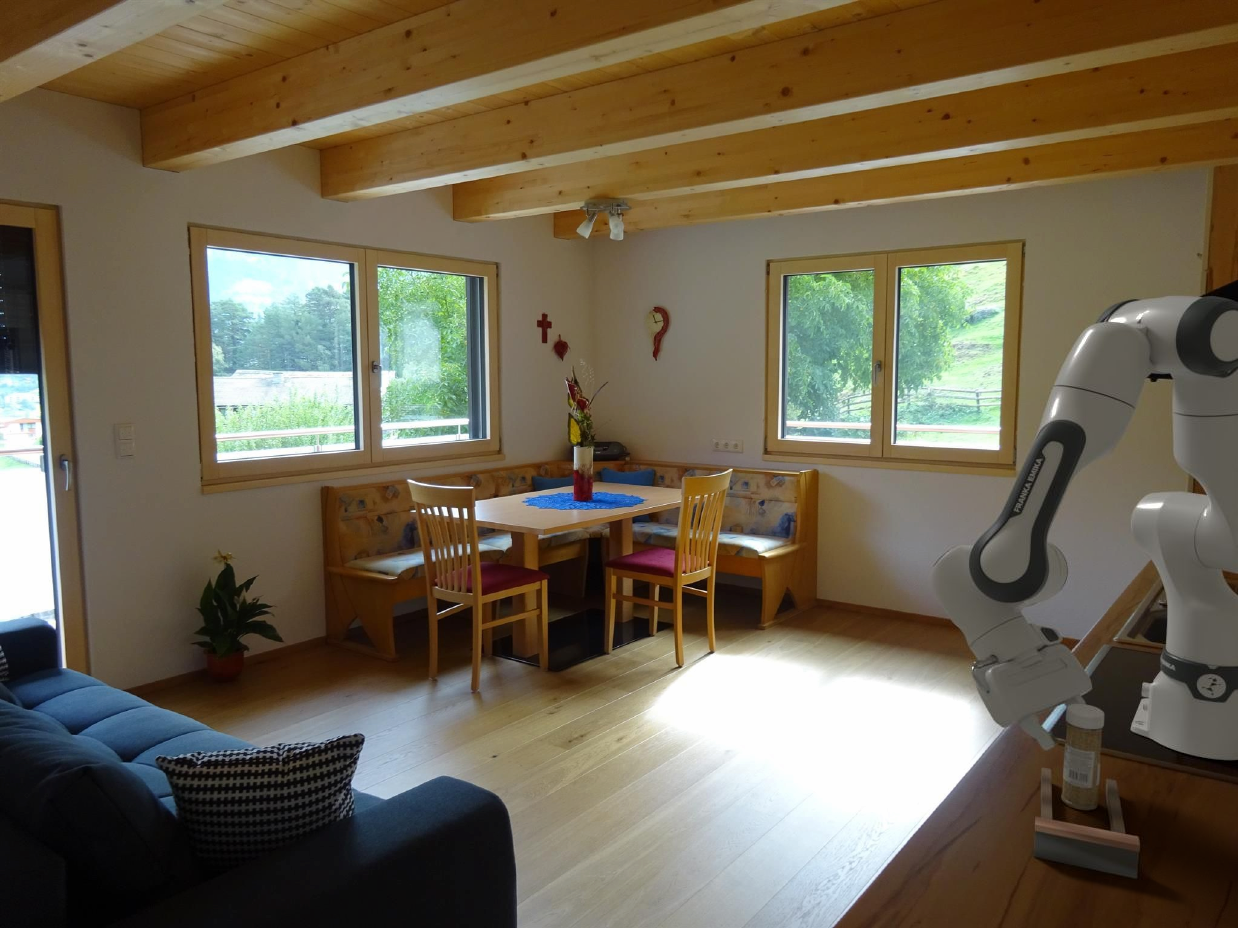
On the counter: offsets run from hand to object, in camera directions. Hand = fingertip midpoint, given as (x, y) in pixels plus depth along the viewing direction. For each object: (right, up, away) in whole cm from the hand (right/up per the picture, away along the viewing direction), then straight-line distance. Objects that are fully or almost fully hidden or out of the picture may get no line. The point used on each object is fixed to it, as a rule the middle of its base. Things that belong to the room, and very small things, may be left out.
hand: (1071, 738), depth 125 cm
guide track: (-2, -9, -6) cm, 11 cm away
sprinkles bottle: (+1, -9, 0) cm, 9 cm away
